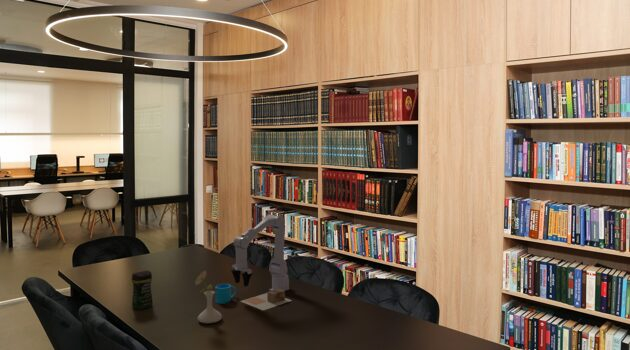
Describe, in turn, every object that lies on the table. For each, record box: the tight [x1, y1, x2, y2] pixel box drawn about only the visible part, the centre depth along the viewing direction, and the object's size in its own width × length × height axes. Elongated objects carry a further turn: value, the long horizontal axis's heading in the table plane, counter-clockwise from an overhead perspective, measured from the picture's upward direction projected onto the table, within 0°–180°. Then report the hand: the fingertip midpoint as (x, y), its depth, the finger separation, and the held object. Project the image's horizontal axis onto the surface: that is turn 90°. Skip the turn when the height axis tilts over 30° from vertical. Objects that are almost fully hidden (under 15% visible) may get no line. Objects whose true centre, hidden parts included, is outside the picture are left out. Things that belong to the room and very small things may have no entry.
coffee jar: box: [131, 270, 153, 310], centre depth 236 cm, size 10×8×19 cm
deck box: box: [266, 289, 286, 304], centre depth 244 cm, size 8×5×5 cm, turn 136°
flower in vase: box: [194, 270, 223, 324], centre depth 217 cm, size 13×11×25 cm
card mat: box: [240, 292, 293, 311], centre depth 244 cm, size 20×19×1 cm
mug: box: [215, 283, 237, 305], centre depth 247 cm, size 12×8×8 cm
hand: (241, 284), depth 242 cm, fingers open, 7 cm apart
